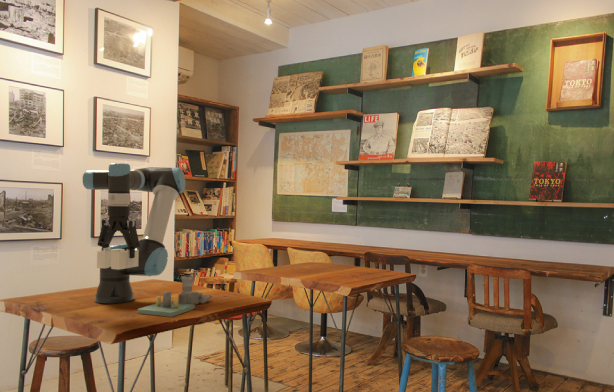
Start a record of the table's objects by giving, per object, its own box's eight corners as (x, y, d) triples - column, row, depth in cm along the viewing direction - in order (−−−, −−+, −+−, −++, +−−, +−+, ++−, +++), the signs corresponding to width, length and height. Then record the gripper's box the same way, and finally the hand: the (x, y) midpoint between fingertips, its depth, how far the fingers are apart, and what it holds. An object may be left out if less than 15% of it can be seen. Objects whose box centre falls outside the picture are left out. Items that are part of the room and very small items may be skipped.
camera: (173, 276, 197) (195, 272, 211) (172, 306, 197) (195, 300, 211) (191, 278, 194) (213, 273, 208) (190, 308, 194) (212, 302, 207)
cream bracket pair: (118, 269, 175) (119, 252, 175) (96, 267, 179) (97, 251, 179) (138, 266, 184) (138, 250, 184) (117, 264, 188) (117, 248, 188)
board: (137, 313, 184) (137, 294, 184) (162, 305, 198) (162, 287, 198) (171, 316, 179) (171, 297, 179) (194, 308, 193) (195, 290, 193)
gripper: (87, 205, 182) (86, 265, 182) (136, 206, 174) (135, 269, 174) (102, 205, 189) (101, 263, 189) (150, 205, 181) (150, 266, 181)
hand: (118, 266), depth 182 cm, fingers closed on cream bracket pair, 10 cm apart
